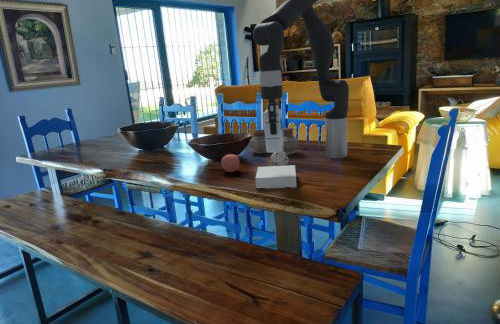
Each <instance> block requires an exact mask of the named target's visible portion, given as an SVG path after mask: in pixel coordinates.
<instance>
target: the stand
mask: <svg viewBox="0 0 500 324" xmlns="http://www.w3.org/2000/svg"><path fill="white" fill-rule="evenodd" d="M285 187H290V188H297V172H296V165H295V164H294V165H293V164H292V165H286V166H273V165H272V166H271V165H270V166H257V170H256V173H255V189H256V188H258V189H257V190H259V188H265V189H283V188H285ZM285 189H286V188H285Z"/></svg>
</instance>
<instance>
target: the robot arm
mask: <svg viewBox="0 0 500 324" xmlns="http://www.w3.org/2000/svg"><path fill="white" fill-rule="evenodd" d="M318 1H319V0H286V1H285V2H283V3H282V4H281V5H279V7H278V8H277V9H276V10H275V11H274V12H273V13H271V15H269V16H267V17H266V18H264V19H263V20H261V21H259V23H257V24H256V25H255V27H254V28H253V30H252V39H253V42H254V43H255V44H256V45H258V46H262V47H263V46H264V47H265V46H268V47H267V51H266V52H263V53H261V54H260V55H259V59H258V60H259V86H260V87H259V88H260V99H262V100H268V103H267V104H266V110H267V113H268V118H269V124H270V134H271V135H276V134H277V127H276V124H277V120H276V117H277V116H278V113H276V111H277V110H278V109H279V103H278V101H276V100H278V99H282V98H283V96H284V94H283V92H284V91H283V77H282V71H281V56H282V55H281V54H282V50H283V44H284V40H285V31H286V30H288V28H290V27H291V25H292V24H293V23H294V22H295V21H296V19H297V18H299V17H300V16H301V17H302V21H303V24H304V28H305V30H306V31H305V32H306V34H307V39H308V43H309V47H310V51H311V54H312V57H313V62H314V67H315V70H316V75H317V83H318V88H319V92H320V96H321V98H322V100H323V101H324V102H330V103H334V106H333V107H332V108H331V109H329V110H326V111H325V112H324V123H325V124H324V125H325V126H324V127H325V157H326V158H328V159H343V158H347V157H348V111H349V98H350V97H349V95H350V88H349V84H348V81H346V80H345V79H332V76H331V72H330V71H331V70H330V66H331V63H332V60H333V57H334V53H335V43H334V38H333V34H332V31H331V29H330V28H329V26H327V25H326V23H325V22H324V21H323V20H322V19H321V18H320V17H319V15H318V14H317V13H316V11H315V8H314V6H313V5H314V4H315V3H316V2H318ZM271 117H275V119H271Z"/></svg>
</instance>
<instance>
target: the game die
mask: <svg viewBox="0 0 500 324" xmlns="http://www.w3.org/2000/svg"><path fill="white" fill-rule="evenodd" d="M285 151H286V150H285ZM285 151H282V152H272V154H271V155H270V156H269V157H268V158H267V160H269V161H270V162H271V165H272V166H288V165H287V164H289V162H291V161H292V160H291V159H289V157H288V154H286V152H285Z"/></svg>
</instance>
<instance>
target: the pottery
mask: <svg viewBox="0 0 500 324" xmlns="http://www.w3.org/2000/svg"><path fill="white" fill-rule="evenodd" d="M293 131H294V127H286V128H285V127H284V128H283V142H284V149H283V151H285V150H286V151H285V152H286V154H287V155H293V154H296V152H295V151H296V149H297V148H298V145H299V141H300V139H299V138H298V137H296V136H294V135H293V134H294V133H293ZM253 135H254V136H253V137H252V138H250V139H251V140H250V139H249V140H250V142H249V144H250V147H251V148H252V149H253V150H254V152H255V154H266V153H267V152H266V142H265V129H256V130H254V131H253Z"/></svg>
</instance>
